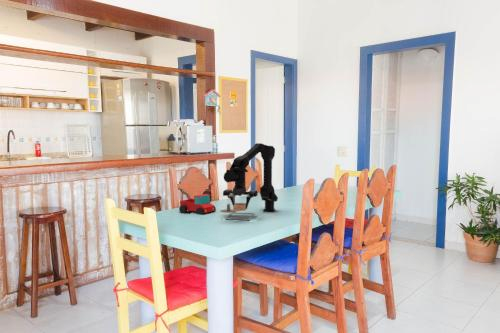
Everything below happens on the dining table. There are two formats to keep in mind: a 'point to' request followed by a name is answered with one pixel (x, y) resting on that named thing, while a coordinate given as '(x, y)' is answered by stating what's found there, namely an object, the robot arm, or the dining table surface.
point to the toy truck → (197, 204)
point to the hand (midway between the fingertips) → (240, 208)
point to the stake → (228, 209)
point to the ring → (239, 206)
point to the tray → (237, 217)
